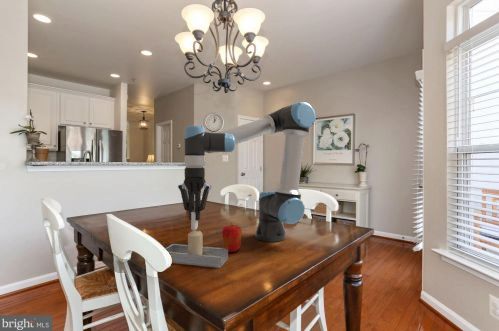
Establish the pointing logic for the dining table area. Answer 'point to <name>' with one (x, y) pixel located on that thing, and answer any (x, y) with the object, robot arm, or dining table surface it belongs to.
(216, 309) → the dining table surface
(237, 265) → the dining table surface
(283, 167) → the robot arm
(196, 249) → the candle
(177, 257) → the gray tray
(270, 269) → the dining table surface
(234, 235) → the apple
